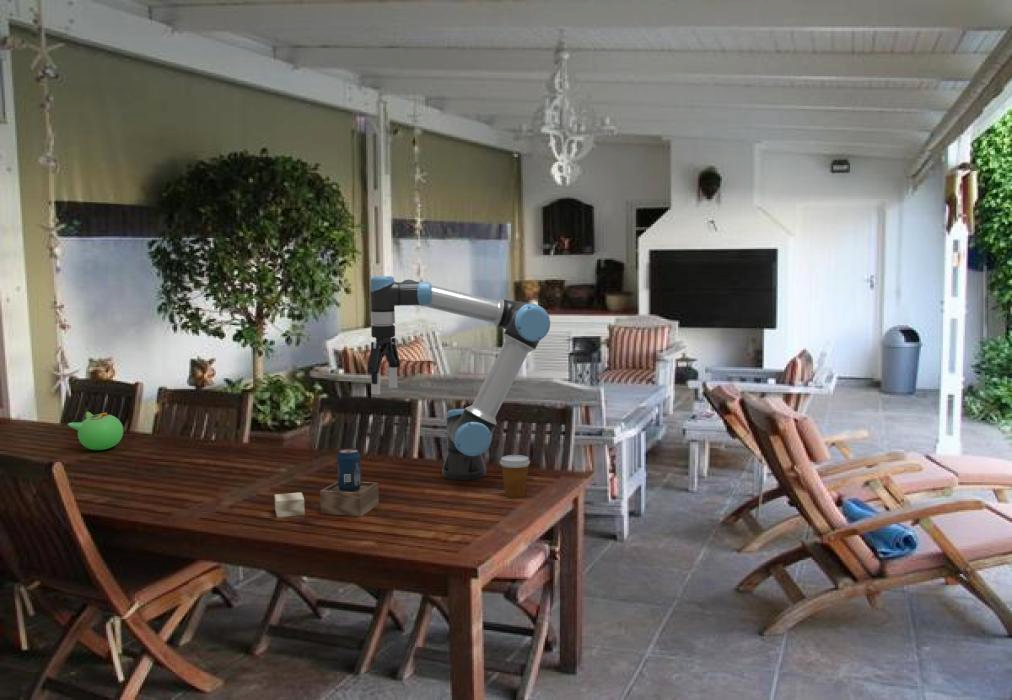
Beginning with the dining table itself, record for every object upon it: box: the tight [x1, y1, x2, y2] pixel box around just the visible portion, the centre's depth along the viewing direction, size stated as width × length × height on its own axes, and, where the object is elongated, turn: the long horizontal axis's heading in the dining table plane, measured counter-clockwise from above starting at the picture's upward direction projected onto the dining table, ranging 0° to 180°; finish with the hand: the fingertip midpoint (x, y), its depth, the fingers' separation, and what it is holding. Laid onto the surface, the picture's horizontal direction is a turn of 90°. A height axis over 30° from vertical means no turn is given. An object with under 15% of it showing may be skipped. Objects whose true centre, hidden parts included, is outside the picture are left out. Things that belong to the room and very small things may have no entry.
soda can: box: [336, 448, 362, 492], centre depth 289 cm, size 7×7×12 cm
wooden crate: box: [319, 480, 380, 518], centre depth 290 cm, size 13×13×7 cm
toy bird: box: [67, 411, 124, 451], centre depth 373 cm, size 18×17×15 cm
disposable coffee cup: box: [499, 454, 531, 498], centre depth 303 cm, size 10×10×12 cm
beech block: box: [274, 492, 306, 518], centre depth 287 cm, size 8×8×5 cm
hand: (384, 390), depth 307 cm, fingers open, 13 cm apart
